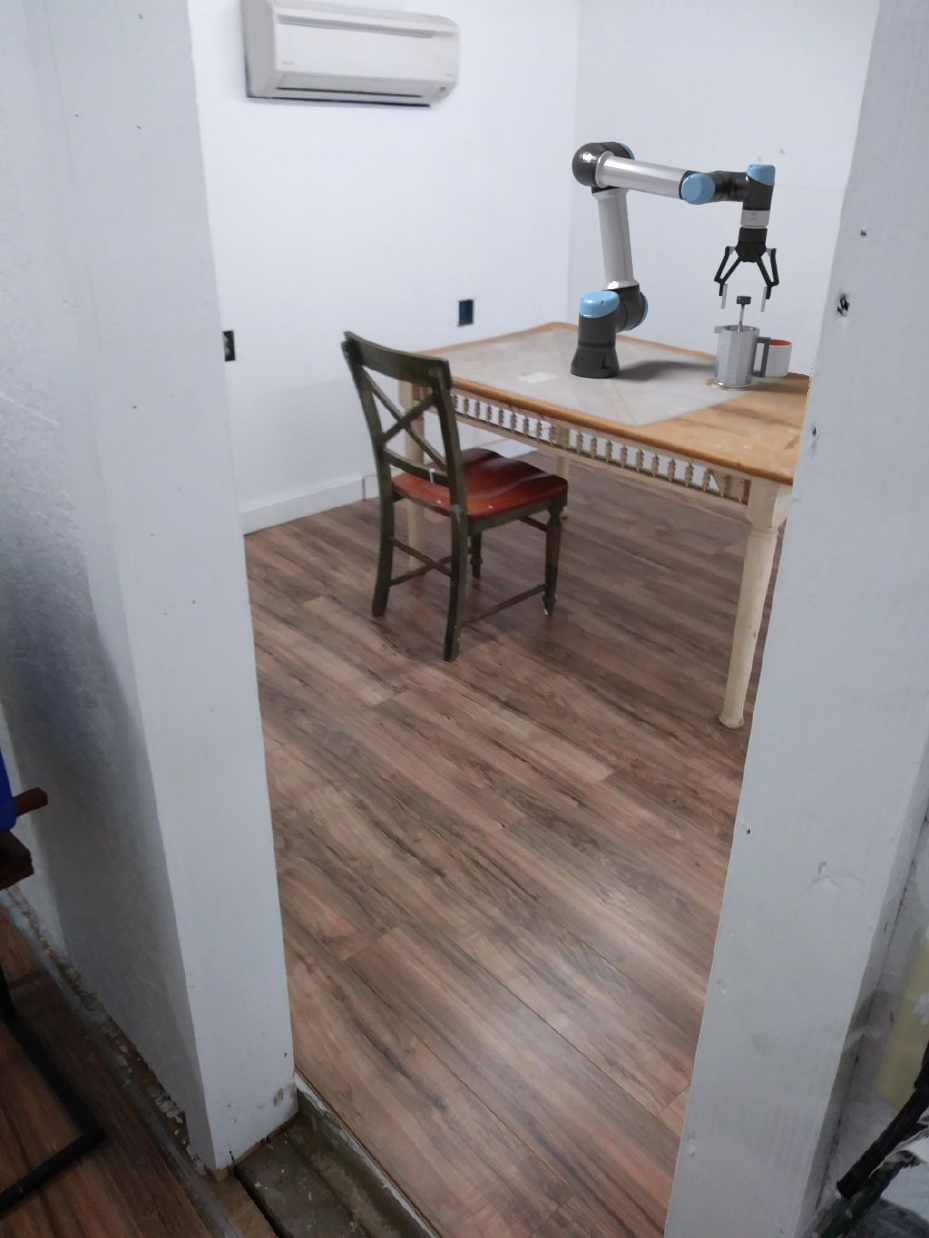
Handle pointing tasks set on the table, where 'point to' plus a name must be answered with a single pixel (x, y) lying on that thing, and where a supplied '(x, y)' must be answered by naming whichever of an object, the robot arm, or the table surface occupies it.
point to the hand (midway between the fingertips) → (742, 309)
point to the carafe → (738, 356)
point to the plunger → (742, 310)
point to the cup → (775, 358)
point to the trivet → (711, 384)
